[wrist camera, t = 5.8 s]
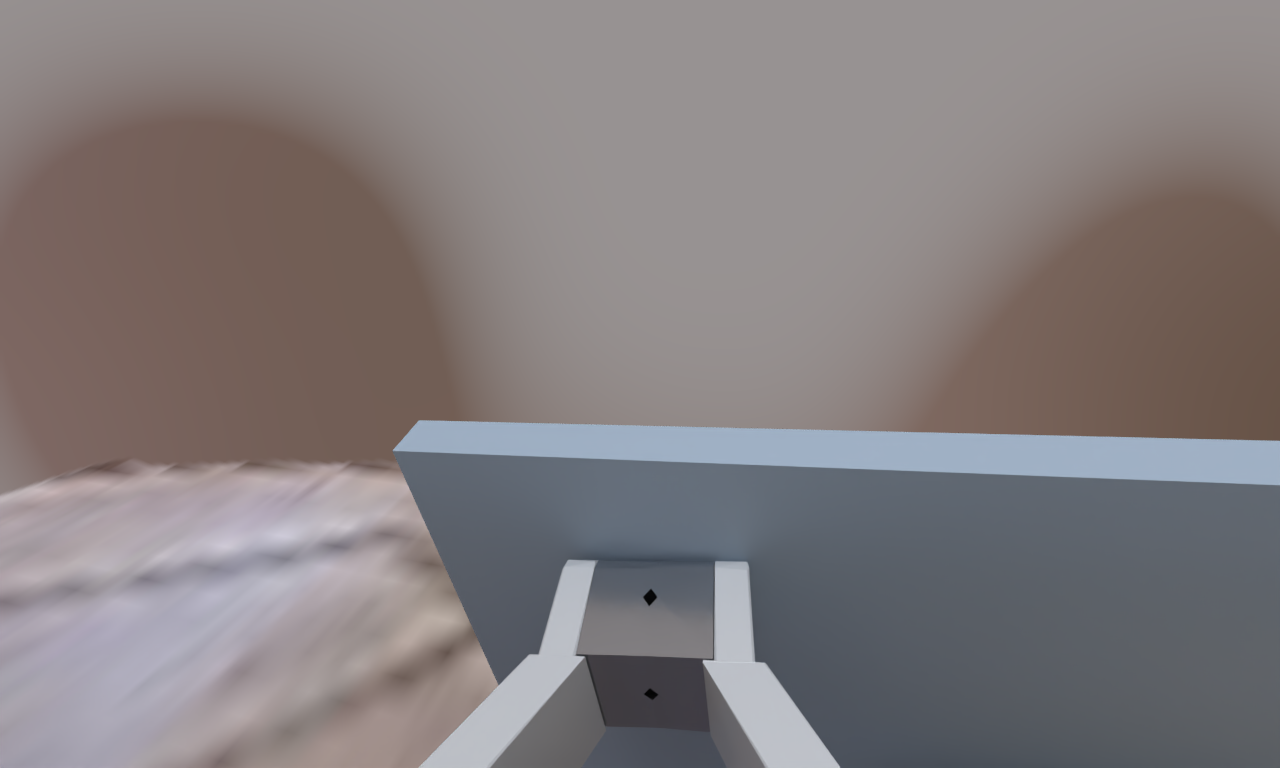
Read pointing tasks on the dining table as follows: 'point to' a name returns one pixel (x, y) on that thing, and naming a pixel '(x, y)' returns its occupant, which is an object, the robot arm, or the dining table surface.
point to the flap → (906, 579)
